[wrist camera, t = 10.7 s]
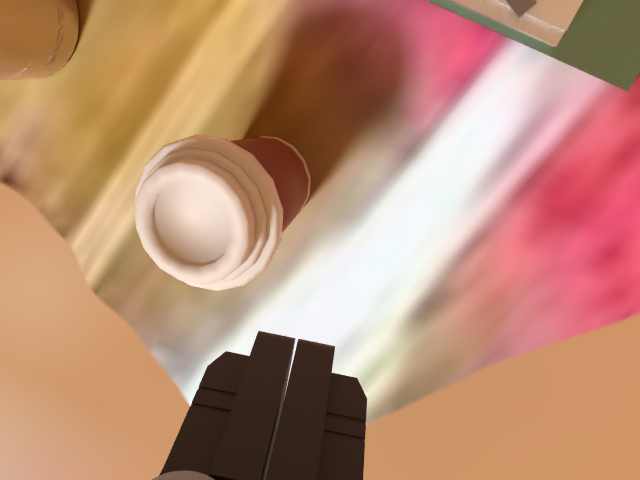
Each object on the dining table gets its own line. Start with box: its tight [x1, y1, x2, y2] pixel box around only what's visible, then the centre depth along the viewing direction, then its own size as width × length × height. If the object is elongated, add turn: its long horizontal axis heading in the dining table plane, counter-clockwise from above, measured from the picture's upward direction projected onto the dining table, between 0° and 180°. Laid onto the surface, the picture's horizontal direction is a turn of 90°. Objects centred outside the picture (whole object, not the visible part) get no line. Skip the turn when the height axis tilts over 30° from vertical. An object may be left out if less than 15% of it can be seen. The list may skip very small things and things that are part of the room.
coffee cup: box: [135, 135, 311, 291], centre depth 38 cm, size 9×9×12 cm
